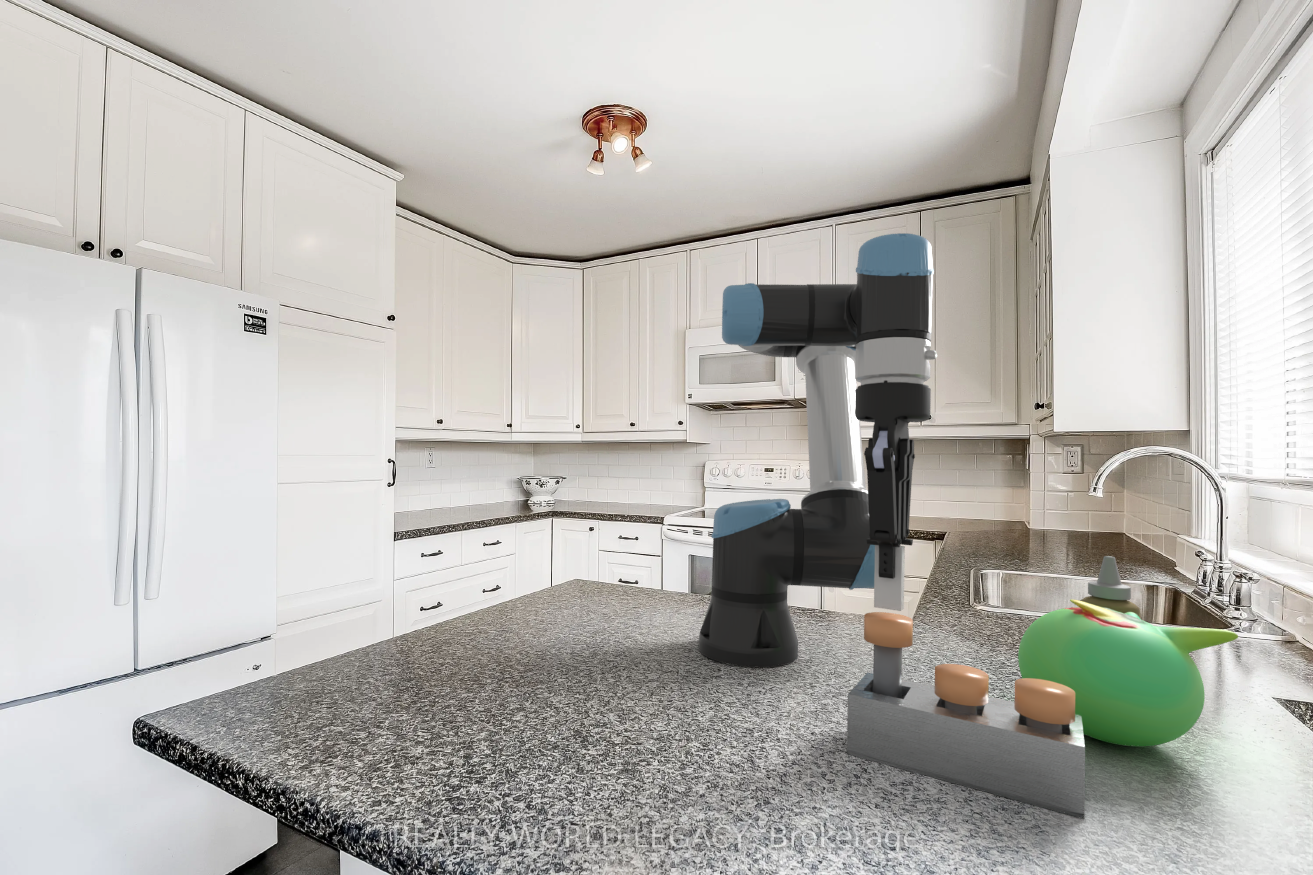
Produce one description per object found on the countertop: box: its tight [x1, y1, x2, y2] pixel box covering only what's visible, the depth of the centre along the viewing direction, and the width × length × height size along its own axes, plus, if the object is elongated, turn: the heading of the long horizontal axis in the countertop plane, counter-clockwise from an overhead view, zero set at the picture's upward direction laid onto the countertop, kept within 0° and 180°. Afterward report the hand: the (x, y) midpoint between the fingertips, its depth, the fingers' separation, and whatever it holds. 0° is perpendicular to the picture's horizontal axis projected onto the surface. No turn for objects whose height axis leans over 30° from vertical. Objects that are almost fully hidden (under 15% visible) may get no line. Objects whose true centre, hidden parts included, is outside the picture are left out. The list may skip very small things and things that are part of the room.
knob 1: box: [863, 611, 914, 699], centre depth 66 cm, size 5×5×8 cm
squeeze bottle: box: [1079, 555, 1142, 620], centre depth 83 cm, size 8×8×18 cm
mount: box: [846, 672, 1086, 820], centre depth 62 cm, size 20×8×6 cm, turn 58°
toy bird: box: [1017, 598, 1239, 747], centre depth 70 cm, size 18×17×15 cm
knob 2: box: [1014, 677, 1075, 734], centre depth 58 cm, size 5×5×8 cm
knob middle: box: [934, 663, 990, 715], centre depth 62 cm, size 5×5×8 cm
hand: (888, 607), depth 66 cm, fingers closed
